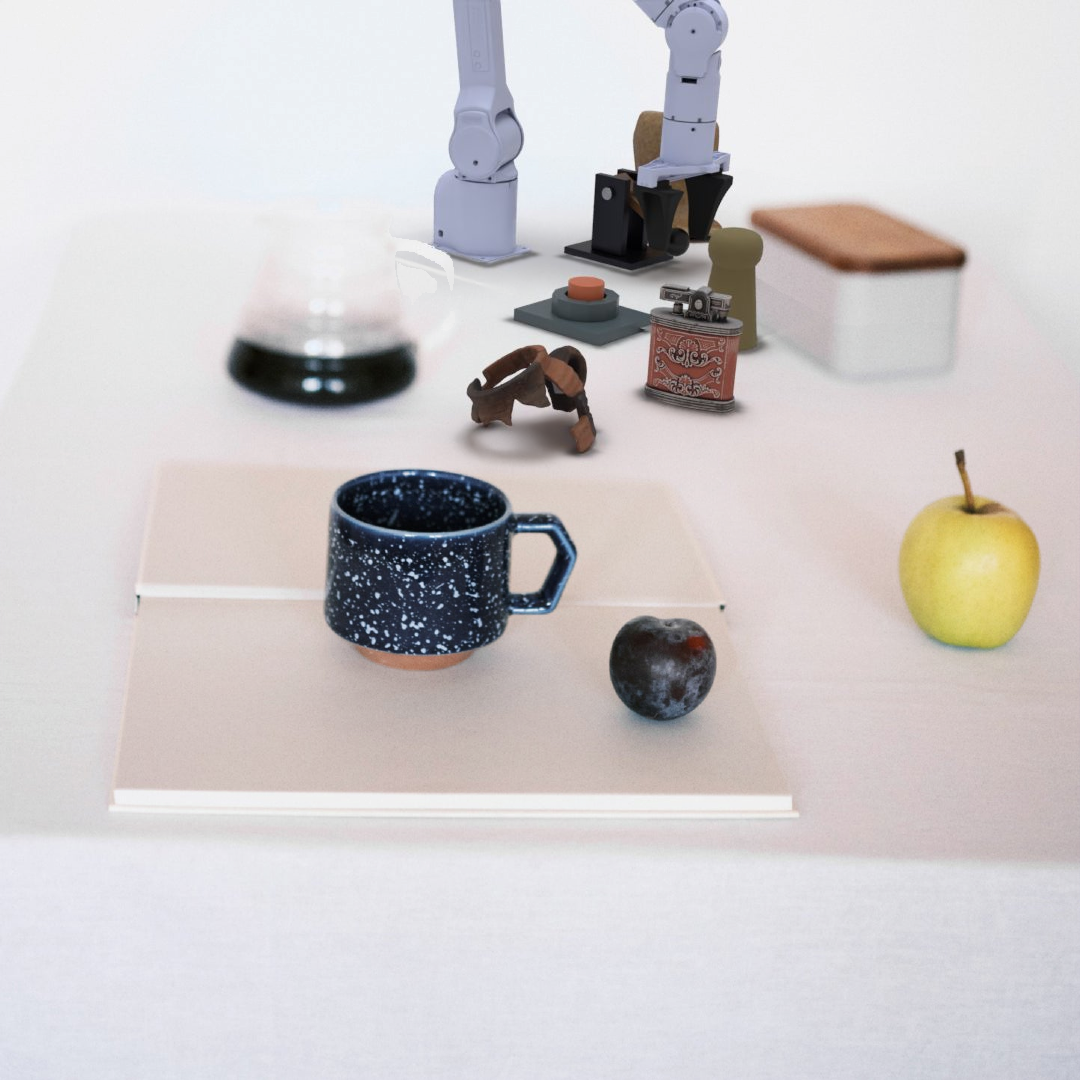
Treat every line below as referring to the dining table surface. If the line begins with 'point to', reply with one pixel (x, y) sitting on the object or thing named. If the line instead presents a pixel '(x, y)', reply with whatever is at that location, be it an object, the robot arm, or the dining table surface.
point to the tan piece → (649, 150)
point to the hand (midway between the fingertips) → (678, 243)
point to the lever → (678, 236)
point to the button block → (584, 317)
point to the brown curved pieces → (535, 388)
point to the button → (586, 288)
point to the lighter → (693, 349)
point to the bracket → (617, 227)
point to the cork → (737, 276)
